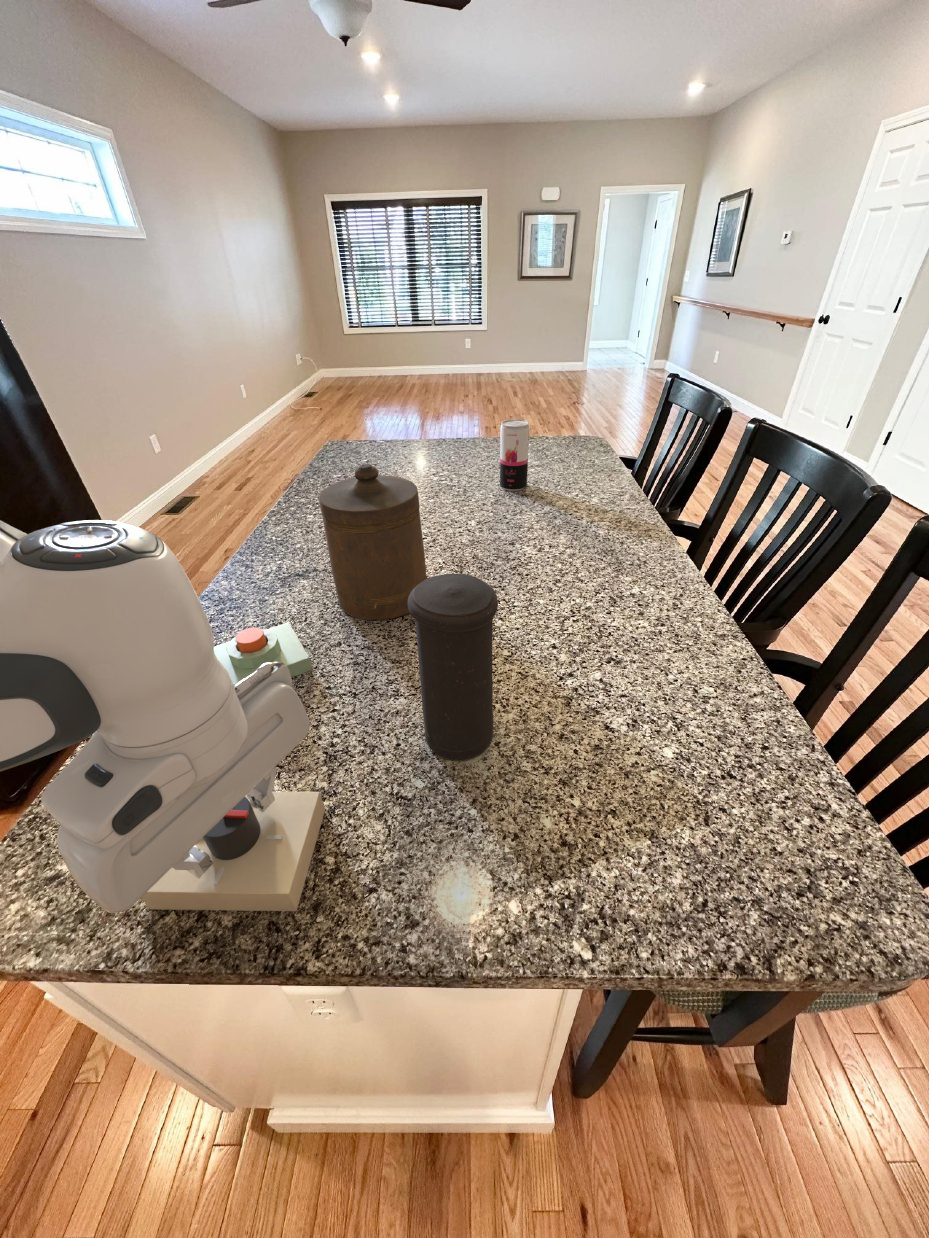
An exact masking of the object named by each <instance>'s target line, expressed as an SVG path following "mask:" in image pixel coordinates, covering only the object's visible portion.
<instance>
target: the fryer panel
mask: <svg viewBox="0 0 929 1238" xmlns="http://www.w3.org/2000/svg"><path fill="white" fill-rule="evenodd" d="M272 793H273V795H274V798H275V801H274V802H273V803H272V804H271V805H270V806H269V807H268V808H267V809H266V810H265V811H264V812H261V811H260V810H259V808H257V809H256V808H254V807H253V806H252V805H251V806H252V809H253V811H254V813H255V815H256V818H257V820H258V822H259V825H260V835H259V838H258V840H257V842H256V844H255V845H254V846H253V847H252V848H251V849H250V850H249V851H248V852H247V853H245V854H244V855H242V856H240V857H238V858H235V859H231V860H221V859H218V858H216V857H214V856H213V855H212V853H211V852H210V850H209V848H208V846H207V844H206V843H205V841H204V839H203V838H202V839H201V840H200V841H199V842H198V843H197V844H196V845H195V846H196V847H198V848H199V849H200V850H201V851H204V852H205V853H207V854H208V855H209V857H210V858H211V859H210V860H211V861H212V862H213V864H212V865H211V866H210V867H209V869H208V870H207V871H206V872H205V873H204V874H203V875H202V876H201V877H200V878H197V877H195V876H194V875H192V874H191V873H190V872H188V871H187V870H175V869H174V868H171V869H170V870H169V871H168V872H167V873H166V874H165V875H164V876H163V877H162V878H161V879H160V880H159V881H158V882H156V883H155V884H154V885H153V886H152V887H151V888H150V889H149V890H148V891H147V892H146V893H145V894H144V895H143V896H142V897H141V898H140V899H142V901H143V902H144V903H145V905H146V906H147V907H148V908H149V910H163V911H164V910H165V911H167V910H168V911H169V910H170V911H171V910H172V911H237V912H238V911H239V912H240V911H243V912H244V911H245V912H246V911H247V912H251V911H252V912H297V911H298V908H299V904H300V901H301V897H302V893H303V890H304V886H305V884H306V879H307V876H308V872H309V869H310V865H311V862H312V859H313V855H314V851H315V847H316V844H317V840H318V837H319V834H320V830H321V826H322V823H323V819H324V816H325V812H326V808H325V804H324V800H323V798H322V795H321V791H272ZM245 797H246V798H247V799H248V797H247V795H246V796H245ZM248 800H249V802H250V799H248Z"/></svg>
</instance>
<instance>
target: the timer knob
mask: <svg viewBox="0 0 929 1238" xmlns="http://www.w3.org/2000/svg"><path fill="white" fill-rule="evenodd" d="M259 835H260V825H259V822H258V820H257V818H256V815H255V813H254V811H253V809H252V806H251V804H250V802H249V800H248V799H247V798H246V797H244V798H243V799H242V800H241V801H240V802H239V803H238V804H237V805H235V806H234V807H233V808H232V809H231V810H230V811H229V812H228V813H227V814H226V815H225V816H224V817H223V818H222V819H221V820H220V821H219V822H218V823H217V824H216V825H215V826H214V827H213V828H212V829H211V830H210V831H209V832H208V833H207V834H206V835H205V836H204V837H203V839H204V841H205V843H206V844H207V846H208V848H209V850H210V852H211V853H212V855H213V856H214V857H216V858H218V859H221V860H231V859H235V858H238V857H240V856H242V855H244V854H245V853H247V852H248V851H249V850H250V849H251V848H252V847H253V846H254V845H255V844H256V842H257V840H258V838H259Z"/></svg>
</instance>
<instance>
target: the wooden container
mask: <svg viewBox="0 0 929 1238" xmlns="http://www.w3.org/2000/svg"><path fill="white" fill-rule="evenodd" d="M379 473H380V472H379V470H378V468H377V467H376V466H374V465H372V464H370V463H363V464H361V465H359V466H358V467H356V468H355V469H354V477H350V478H346V479H343V480H340V481H336V482H334V483H332V484H330V485H328V486H327V487H325V488H324V489H322V491H321V492H320V493H319V496H318V502H319V508H320V512H321V517H322V525H323V530H324V535H325V539H326V540H325V541H326V546H327V552H328V558H329V564H330V569H331V575H332V578H333V583H334V588H335V591H336V596H337V601H338V604H339V607H340V609H341V610H342V611H343V612H344V613H346V614H347V615H349V616H350V617H354V618H356V619H362V620H368V621H384V620H385V621H386V620H391V619H395V618H400V617H402V616H405V615H408V614H411V613H410V611H409V609H408V597H409V595H410V593H411V592H412V590H413V589H414V588H415V587H416V586H417V585H419V584H420V583H421V582H423V581H424V580H426V579H428V578H427V565H426V554H425V547H424V539H423V530H422V529H423V528H422V522H421V521H422V519H421V510H420V497H419V490H418V486H417V485H416V484H415V483H414V482H413V481H411V480H409V479H406V478H403V477H400V476H396V475H386V474H385V475H384V474H383V475H382V474H379Z"/></svg>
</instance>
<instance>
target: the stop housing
mask: <svg viewBox="0 0 929 1238" xmlns="http://www.w3.org/2000/svg"><path fill="white" fill-rule="evenodd" d="M261 629H262V630H263V632H264V635H265V638H266V641H267V643H266V646H265V647H263V648H262V649H261V650H258V651H255V652H252V653H242V652H241V651H240V650H239V648H238V645H237V642H236V639H235V638H236V636H235V637H233V638H231V639H230V640H229V641H226V642H223V643H221V644H217V645H214V653H215V656H216V657H217V659H218V660H219V661H220V662H221V663H222V664H223V666H224V667H225V668H226V670H227V671H228V673H229V675H230V678H231V680H232V683H233V686H234V685H236V684H237V683H238V682H240V681H241V680H243V679H244V678H246V677H248V676H250V675H251V674H252V673H253V672H255V670H256V669H257V668H258V667H259V666H261V665H262V664H264V663H266V662H270V663H273V662H282V663H284V664H285V665H286V666H287V667H288V669H289V672H290V675H291V679H292V678H294V677H297V676H299V675H302V674H305V673H308V672H310V671H313V665H312V662H311V658H310V656H309V654H308V652H307V651H306V648H305V647H304V646H303V644H302V642H301V641H300V639H299V637H298V635H297V634H296V632H295V630H294V628H293V626H292V625H291V623H290V621H287V622H285V623H282V624H279V625H276V626H273V627H270V628H267V629H266V628H261Z"/></svg>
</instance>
